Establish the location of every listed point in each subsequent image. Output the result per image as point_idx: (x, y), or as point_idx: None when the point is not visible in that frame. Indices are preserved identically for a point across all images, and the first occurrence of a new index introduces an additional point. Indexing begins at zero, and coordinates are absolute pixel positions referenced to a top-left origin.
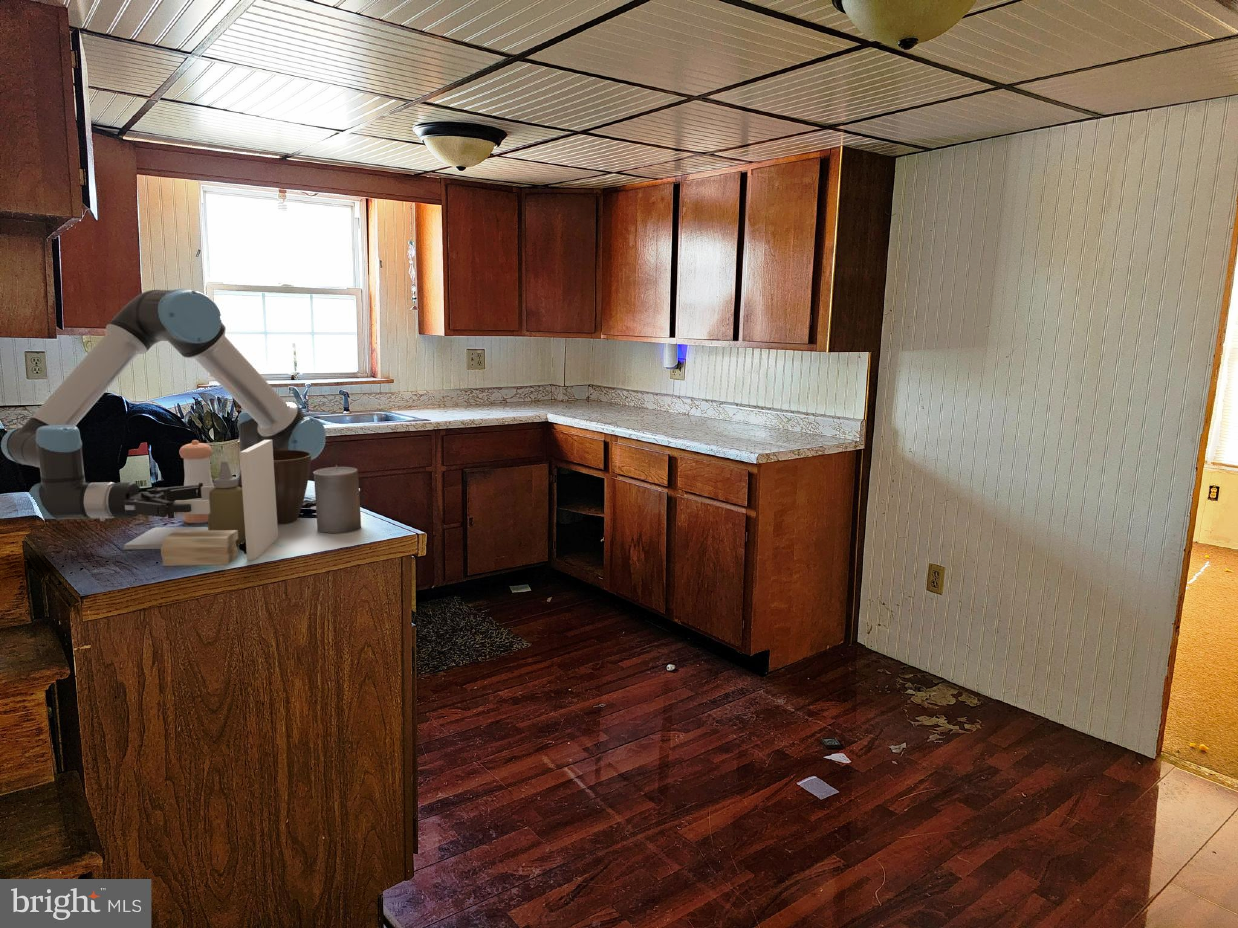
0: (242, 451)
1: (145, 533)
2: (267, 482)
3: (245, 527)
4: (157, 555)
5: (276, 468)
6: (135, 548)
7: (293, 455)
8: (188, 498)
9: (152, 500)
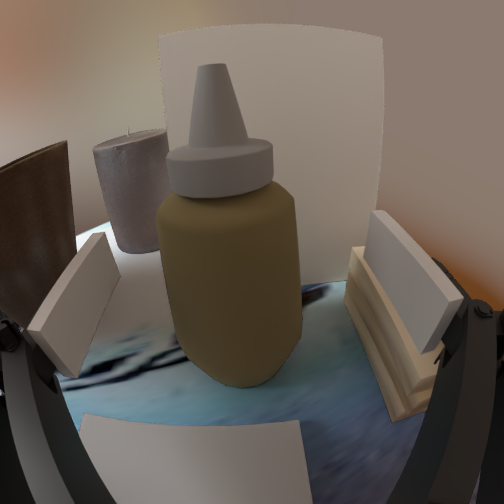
0: (371, 35)
1: None
2: None
3: None
4: (389, 482)
5: (63, 165)
6: None
7: None
8: (75, 432)
9: (470, 484)
